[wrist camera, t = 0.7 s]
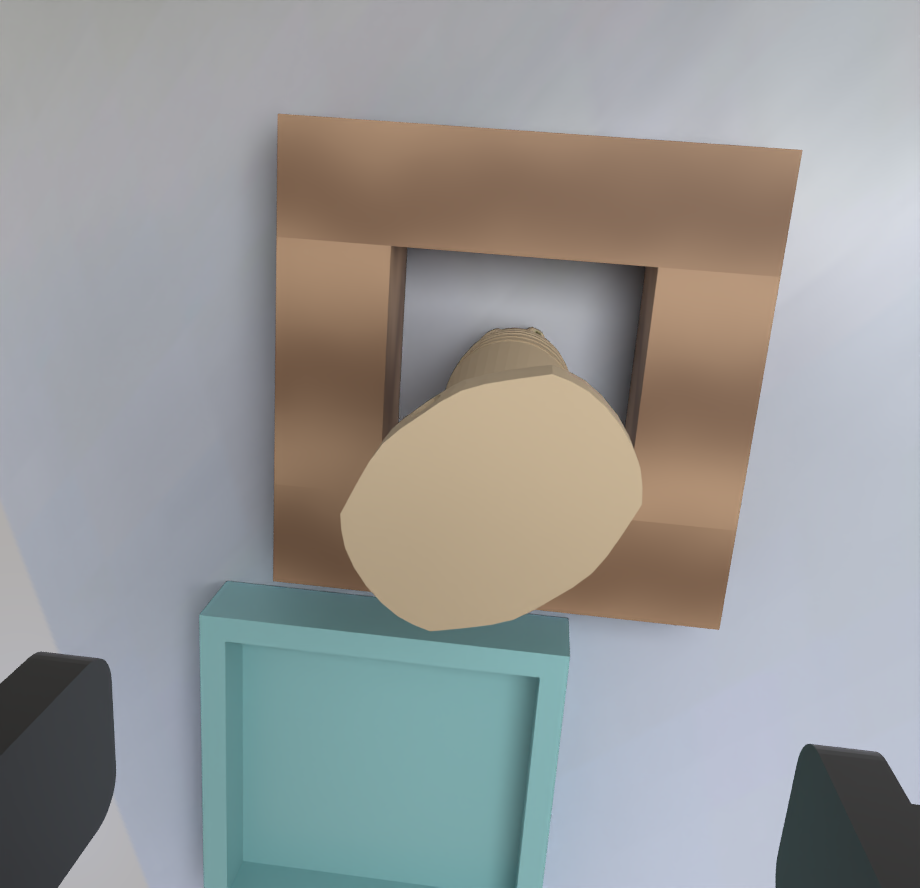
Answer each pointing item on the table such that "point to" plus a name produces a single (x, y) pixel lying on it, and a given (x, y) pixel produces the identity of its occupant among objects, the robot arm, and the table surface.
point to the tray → (374, 744)
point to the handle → (493, 490)
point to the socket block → (541, 236)
